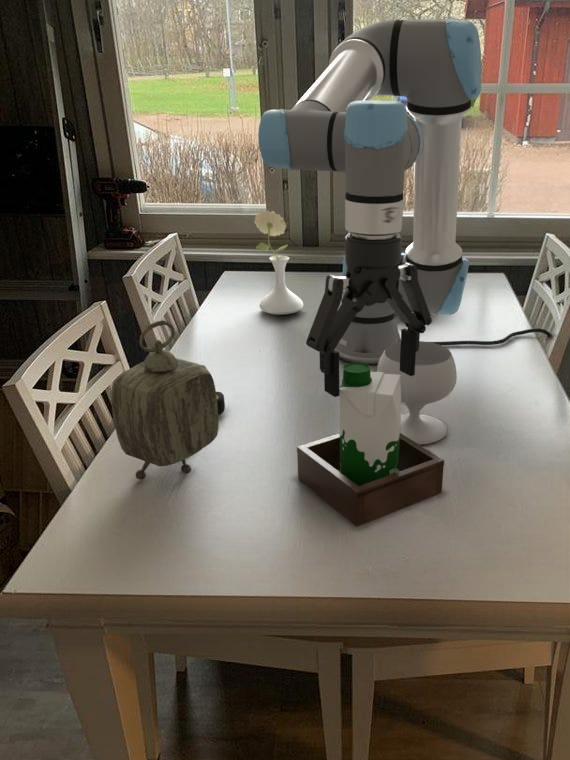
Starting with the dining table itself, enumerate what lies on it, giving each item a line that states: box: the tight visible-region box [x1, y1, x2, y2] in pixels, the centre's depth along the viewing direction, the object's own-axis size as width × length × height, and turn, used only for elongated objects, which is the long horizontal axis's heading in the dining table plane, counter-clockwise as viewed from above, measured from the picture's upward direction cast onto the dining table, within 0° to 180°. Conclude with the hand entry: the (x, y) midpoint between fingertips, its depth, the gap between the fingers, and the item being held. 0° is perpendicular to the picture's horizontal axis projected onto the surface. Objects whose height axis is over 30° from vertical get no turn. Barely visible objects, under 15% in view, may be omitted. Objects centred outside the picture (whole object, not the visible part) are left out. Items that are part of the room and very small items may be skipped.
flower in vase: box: [253, 209, 304, 316], centre depth 184 cm, size 13×11×25 cm
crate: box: [296, 432, 445, 528], centre depth 114 cm, size 16×16×6 cm
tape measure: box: [216, 391, 226, 417], centre depth 137 cm, size 7×7×4 cm
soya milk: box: [338, 362, 402, 486], centre depth 111 cm, size 9×9×20 cm
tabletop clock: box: [110, 320, 219, 481], centre depth 113 cm, size 14×9×25 cm, turn 149°
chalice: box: [376, 340, 458, 445], centre depth 129 cm, size 14×14×15 cm
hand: (370, 383), depth 107 cm, fingers open, 13 cm apart
